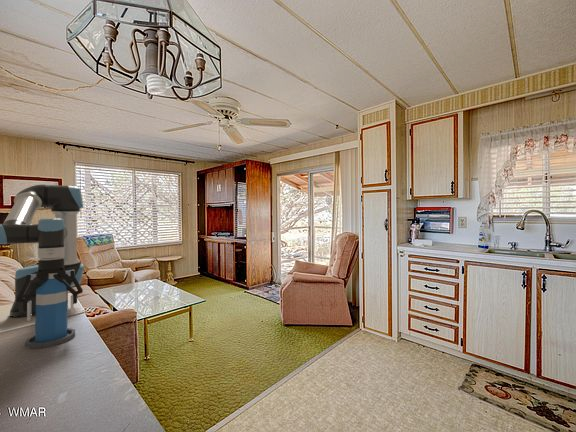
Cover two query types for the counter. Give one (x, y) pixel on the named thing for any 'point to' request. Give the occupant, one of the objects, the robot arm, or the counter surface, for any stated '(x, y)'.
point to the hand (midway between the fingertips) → (51, 315)
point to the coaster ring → (32, 345)
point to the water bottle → (51, 310)
